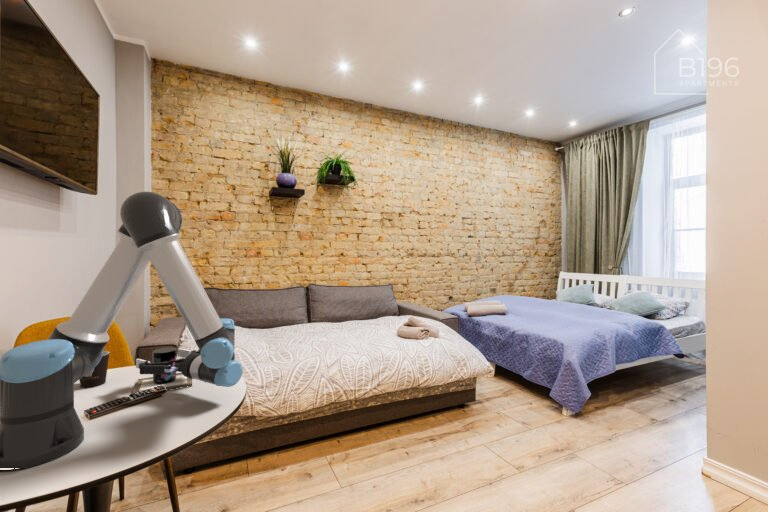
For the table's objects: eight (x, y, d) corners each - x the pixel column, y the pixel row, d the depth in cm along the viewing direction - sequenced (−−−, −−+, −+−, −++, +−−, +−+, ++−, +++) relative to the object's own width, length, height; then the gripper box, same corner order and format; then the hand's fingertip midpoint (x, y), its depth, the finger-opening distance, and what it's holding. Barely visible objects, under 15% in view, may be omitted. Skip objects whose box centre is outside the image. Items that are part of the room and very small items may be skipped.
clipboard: (192, 386, 113) (192, 381, 113) (132, 396, 105) (132, 391, 105) (191, 373, 125) (191, 369, 125) (138, 381, 117) (138, 376, 117)
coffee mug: (116, 380, 118) (116, 351, 118) (92, 390, 110) (92, 359, 109) (85, 378, 119) (85, 350, 119) (60, 388, 111) (59, 357, 111)
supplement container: (156, 386, 110) (156, 354, 110) (150, 381, 115) (150, 350, 114) (179, 380, 115) (179, 349, 115) (172, 375, 120) (172, 346, 120)
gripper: (158, 393, 96) (117, 380, 105) (233, 366, 118) (193, 358, 127) (158, 366, 96) (117, 356, 105) (233, 345, 118) (193, 338, 127)
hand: (158, 357), depth 116 cm, fingers open, 13 cm apart
